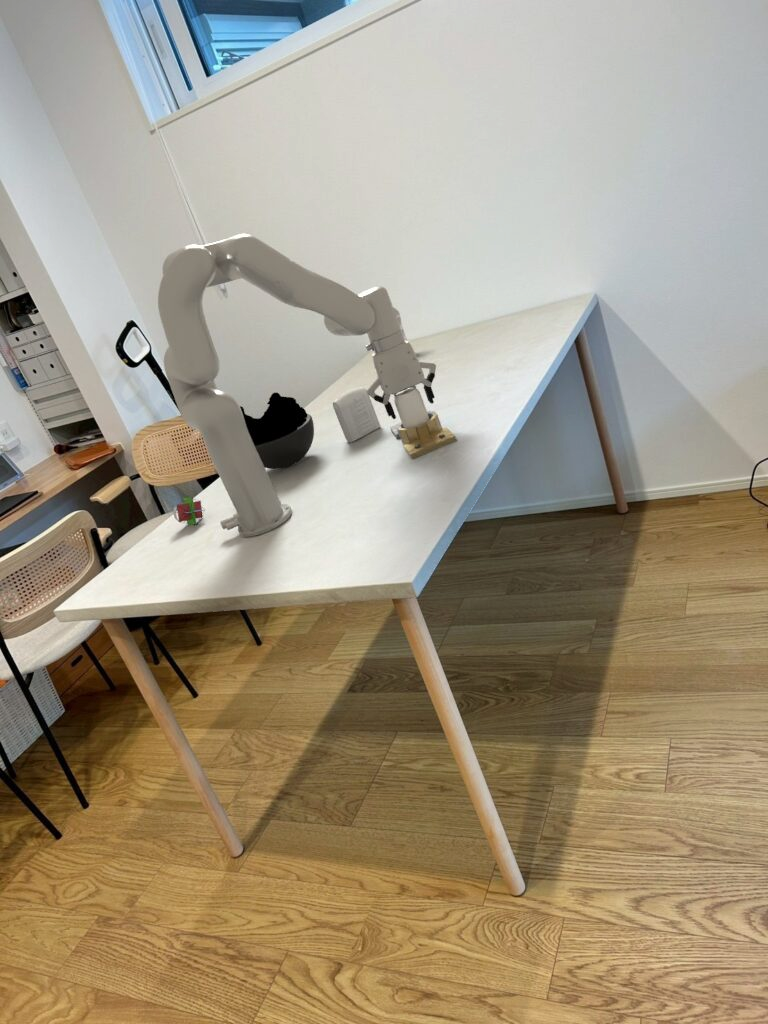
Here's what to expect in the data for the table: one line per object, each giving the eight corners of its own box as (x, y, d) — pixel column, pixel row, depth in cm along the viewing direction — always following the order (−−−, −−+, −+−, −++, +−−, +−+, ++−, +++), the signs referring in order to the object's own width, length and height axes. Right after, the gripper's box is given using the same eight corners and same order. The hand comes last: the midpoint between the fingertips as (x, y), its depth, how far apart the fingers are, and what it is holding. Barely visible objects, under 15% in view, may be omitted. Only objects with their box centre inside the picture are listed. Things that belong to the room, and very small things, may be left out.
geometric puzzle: (200, 503, 197) (173, 491, 192) (215, 503, 192) (189, 491, 187) (190, 530, 195) (163, 518, 190) (206, 531, 190) (179, 519, 185)
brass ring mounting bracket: (411, 459, 177) (405, 443, 176) (391, 431, 201) (386, 417, 200) (456, 440, 177) (451, 424, 176) (431, 414, 201) (426, 400, 200)
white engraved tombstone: (375, 425, 211) (358, 382, 207) (383, 426, 208) (367, 383, 203) (344, 442, 207) (327, 399, 203) (352, 443, 204) (334, 400, 199)
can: (404, 443, 189) (387, 398, 184) (415, 432, 193) (399, 387, 189) (427, 440, 185) (410, 393, 180) (438, 428, 190) (422, 382, 185)
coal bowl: (340, 444, 207) (313, 378, 200) (293, 480, 194) (263, 411, 187) (287, 450, 220) (260, 388, 213) (240, 485, 206) (209, 420, 199)
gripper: (355, 358, 177) (381, 427, 183) (426, 330, 177) (450, 399, 183) (351, 353, 183) (376, 420, 190) (419, 326, 184) (442, 393, 190)
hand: (412, 409), depth 187 cm, fingers open, 9 cm apart
